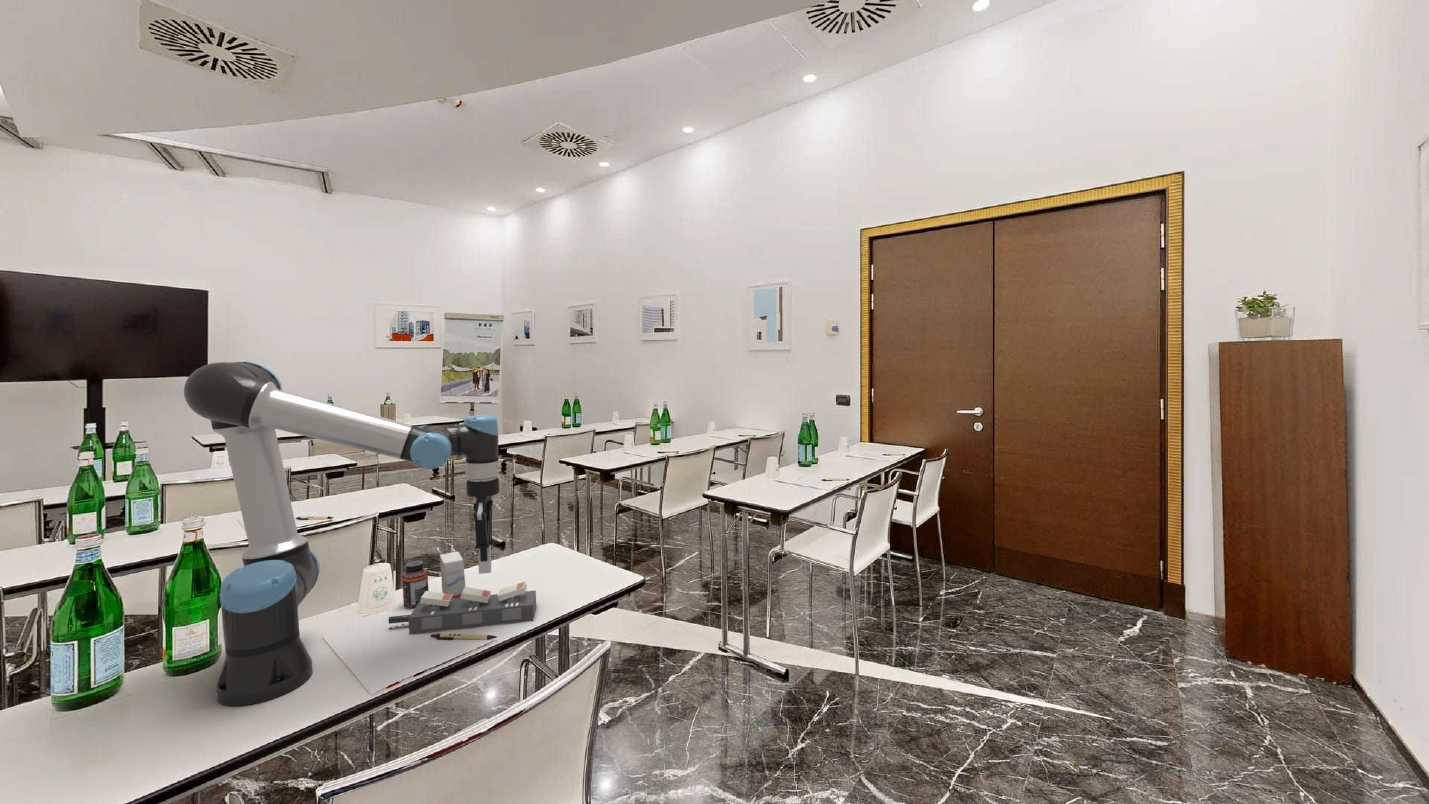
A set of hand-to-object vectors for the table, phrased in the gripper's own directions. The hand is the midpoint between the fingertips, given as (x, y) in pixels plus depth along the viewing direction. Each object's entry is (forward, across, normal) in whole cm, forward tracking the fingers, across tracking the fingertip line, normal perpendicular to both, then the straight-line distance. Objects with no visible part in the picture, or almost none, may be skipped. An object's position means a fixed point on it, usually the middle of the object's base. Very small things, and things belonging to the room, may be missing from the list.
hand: (485, 572), depth 141 cm
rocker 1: (+7, 0, +12) cm, 13 cm away
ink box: (+12, +14, +10) cm, 21 cm away
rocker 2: (+6, 0, +2) cm, 7 cm away
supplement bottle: (+12, +13, +19) cm, 26 cm away
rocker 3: (+6, 0, -6) cm, 9 cm away
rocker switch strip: (+12, 0, +5) cm, 13 cm away
